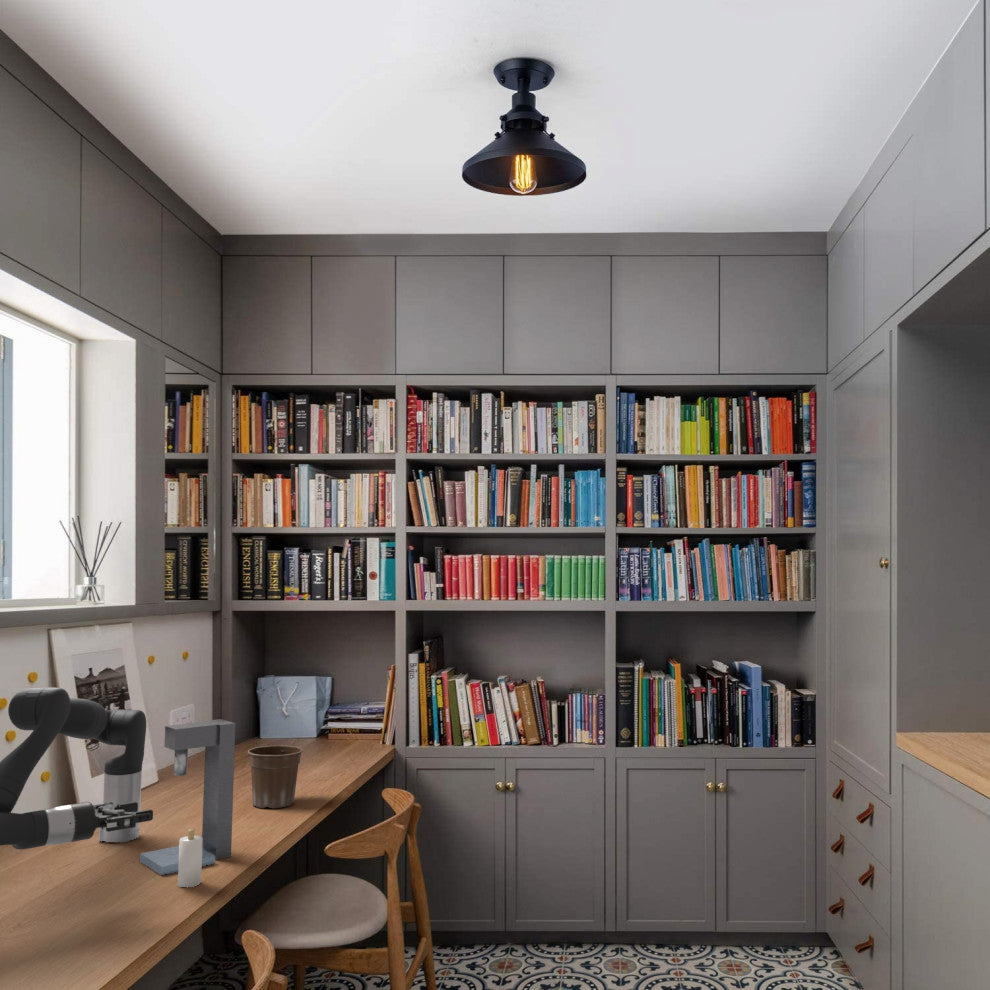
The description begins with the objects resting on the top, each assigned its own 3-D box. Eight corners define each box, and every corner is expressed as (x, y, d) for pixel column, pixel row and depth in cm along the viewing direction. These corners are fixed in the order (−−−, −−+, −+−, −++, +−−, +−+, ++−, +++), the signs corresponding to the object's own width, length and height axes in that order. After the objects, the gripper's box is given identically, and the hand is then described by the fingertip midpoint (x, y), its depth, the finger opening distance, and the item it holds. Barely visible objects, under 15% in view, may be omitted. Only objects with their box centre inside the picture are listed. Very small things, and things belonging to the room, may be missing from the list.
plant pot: (279, 794, 288) (280, 742, 289) (312, 803, 278) (313, 749, 279) (235, 804, 275) (236, 750, 277) (268, 814, 265) (269, 757, 266)
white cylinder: (175, 888, 204) (177, 833, 205) (180, 880, 209) (182, 826, 210) (198, 887, 204) (200, 832, 205) (202, 880, 209) (204, 826, 210)
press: (161, 875, 212) (167, 733, 214) (125, 852, 228) (130, 720, 231) (235, 859, 224) (240, 724, 227) (196, 838, 241) (200, 713, 243)
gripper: (79, 812, 185) (158, 799, 196) (56, 798, 195) (132, 787, 206) (77, 850, 184) (157, 835, 195) (54, 834, 194) (131, 821, 205)
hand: (144, 810), depth 200 cm, fingers open, 8 cm apart
